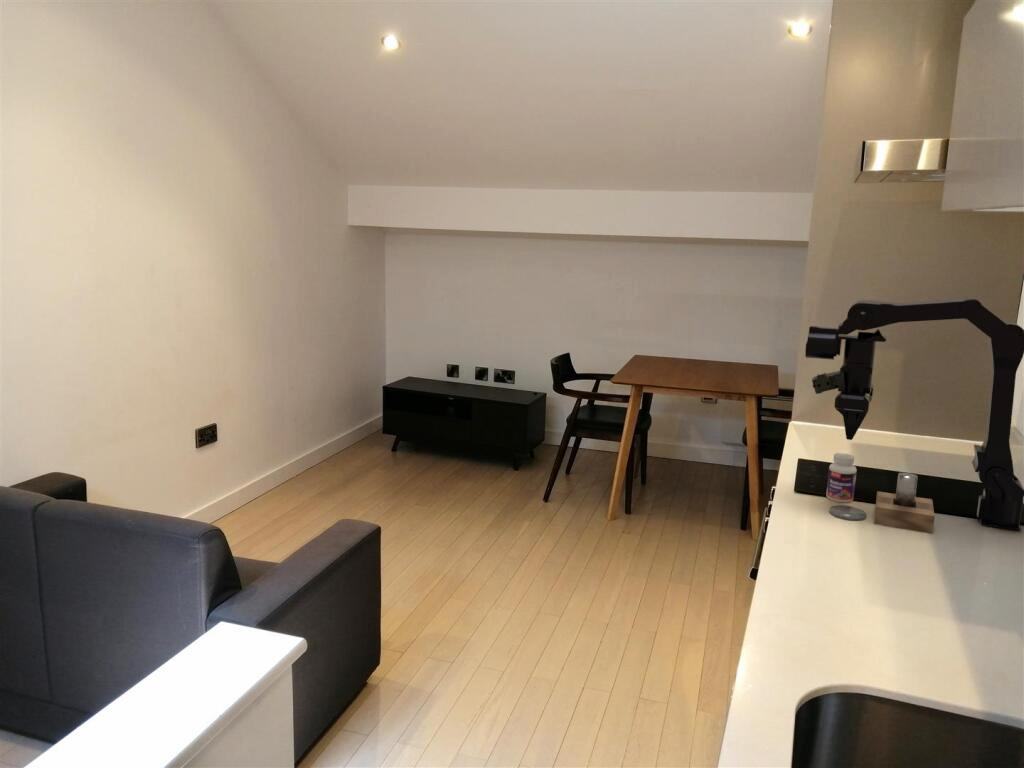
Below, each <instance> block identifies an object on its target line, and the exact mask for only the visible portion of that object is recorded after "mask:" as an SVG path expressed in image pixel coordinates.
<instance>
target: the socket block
mask: <svg viewBox="0 0 1024 768" xmlns="http://www.w3.org/2000/svg"><path fill="white" fill-rule="evenodd" d="M895 498H896V493H892V492H891V493H890V492H884V491H879V490H878V491H876V498H875V499H876V501H875V507H874V510H875V511H874V523H873V524H875V525H880V526H887V527H893V528H899V529H906V530H909V531H910V530H911V531H917V532H923V533H929V534H933V530H934V521H935V511H934V503H933V502H934V501H933V499H932V498H925V497H917V496H915V503H914V506H913V507H906V506H899V505H897V504H895Z"/></svg>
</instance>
